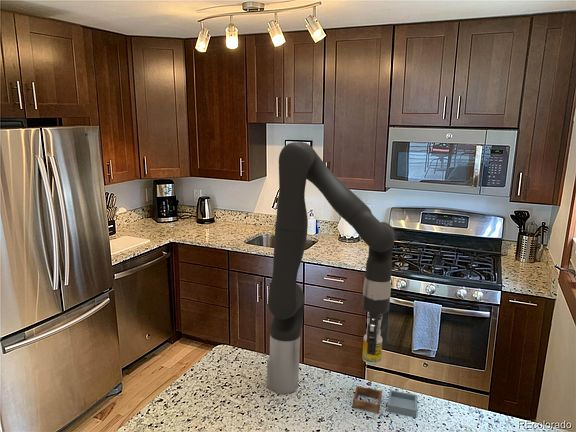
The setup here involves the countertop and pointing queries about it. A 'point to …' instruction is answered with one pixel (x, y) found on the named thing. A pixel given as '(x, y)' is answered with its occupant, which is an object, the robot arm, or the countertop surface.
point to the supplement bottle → (377, 357)
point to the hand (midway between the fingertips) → (372, 348)
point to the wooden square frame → (363, 404)
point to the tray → (402, 403)
